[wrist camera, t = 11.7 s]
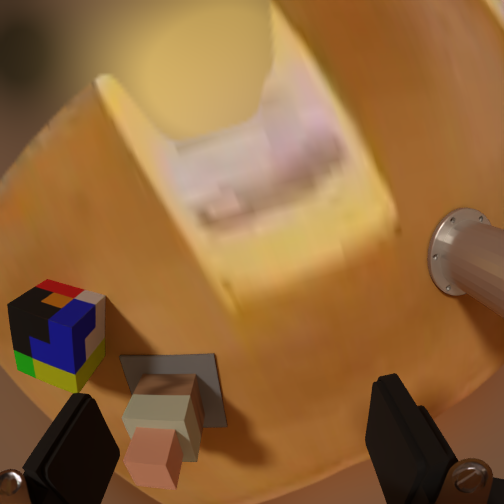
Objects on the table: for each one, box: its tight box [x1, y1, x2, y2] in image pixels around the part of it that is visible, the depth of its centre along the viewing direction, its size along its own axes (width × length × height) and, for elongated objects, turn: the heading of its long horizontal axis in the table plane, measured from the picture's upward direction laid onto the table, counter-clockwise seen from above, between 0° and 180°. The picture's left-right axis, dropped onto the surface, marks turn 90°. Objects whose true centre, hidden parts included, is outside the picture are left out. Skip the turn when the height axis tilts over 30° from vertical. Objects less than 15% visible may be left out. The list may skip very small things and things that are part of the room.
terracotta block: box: [123, 427, 183, 490], centre depth 31 cm, size 5×5×6 cm
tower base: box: [133, 374, 205, 435], centre depth 41 cm, size 8×8×5 cm
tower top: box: [122, 394, 201, 462], centre depth 36 cm, size 8×8×5 cm
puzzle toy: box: [7, 279, 106, 393], centre depth 36 cm, size 10×10×10 cm
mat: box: [119, 354, 227, 428], centre depth 44 cm, size 14×14×1 cm
